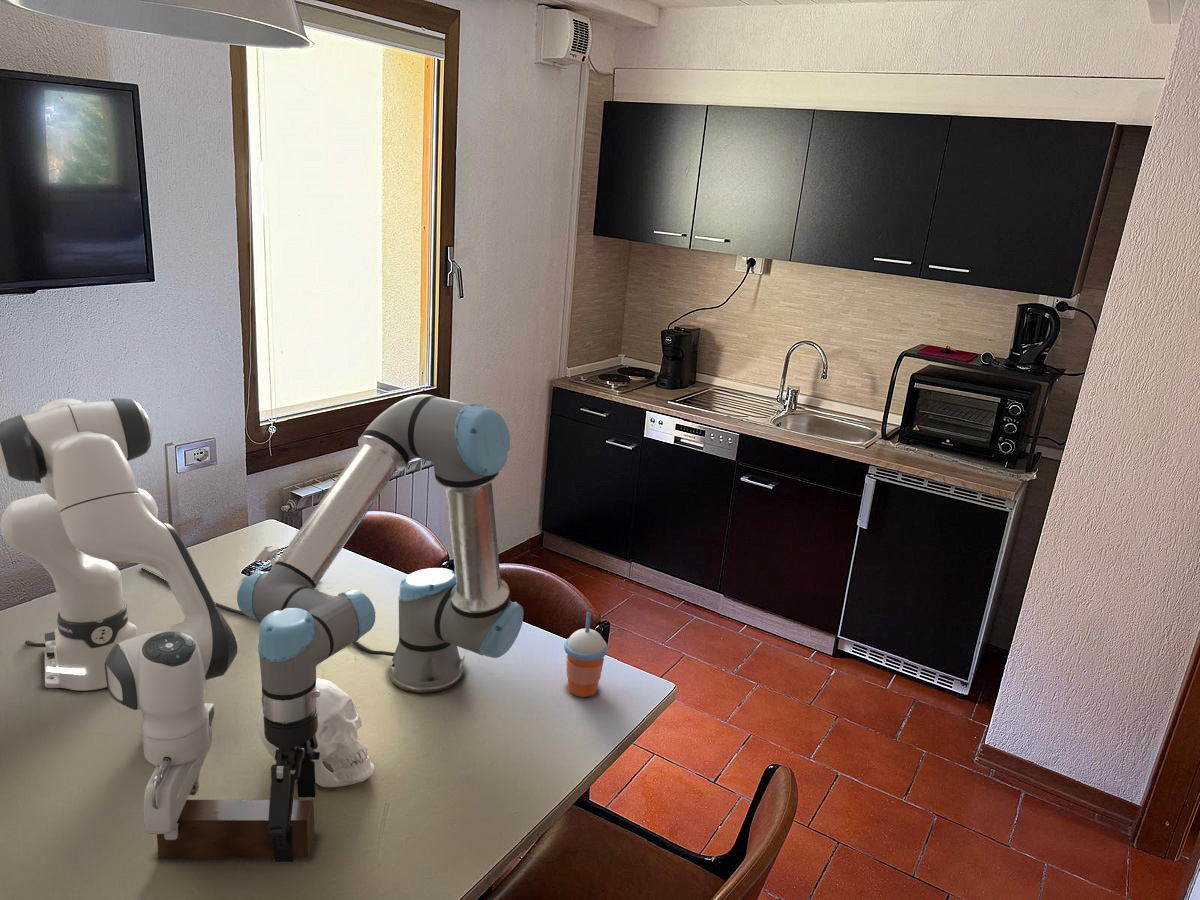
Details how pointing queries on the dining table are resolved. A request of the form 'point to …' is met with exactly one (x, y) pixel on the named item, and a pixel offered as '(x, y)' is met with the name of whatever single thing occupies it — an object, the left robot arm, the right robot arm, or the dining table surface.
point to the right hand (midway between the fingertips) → (296, 827)
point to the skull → (334, 739)
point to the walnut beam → (235, 830)
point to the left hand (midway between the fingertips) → (182, 813)
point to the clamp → (269, 554)
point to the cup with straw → (584, 660)
